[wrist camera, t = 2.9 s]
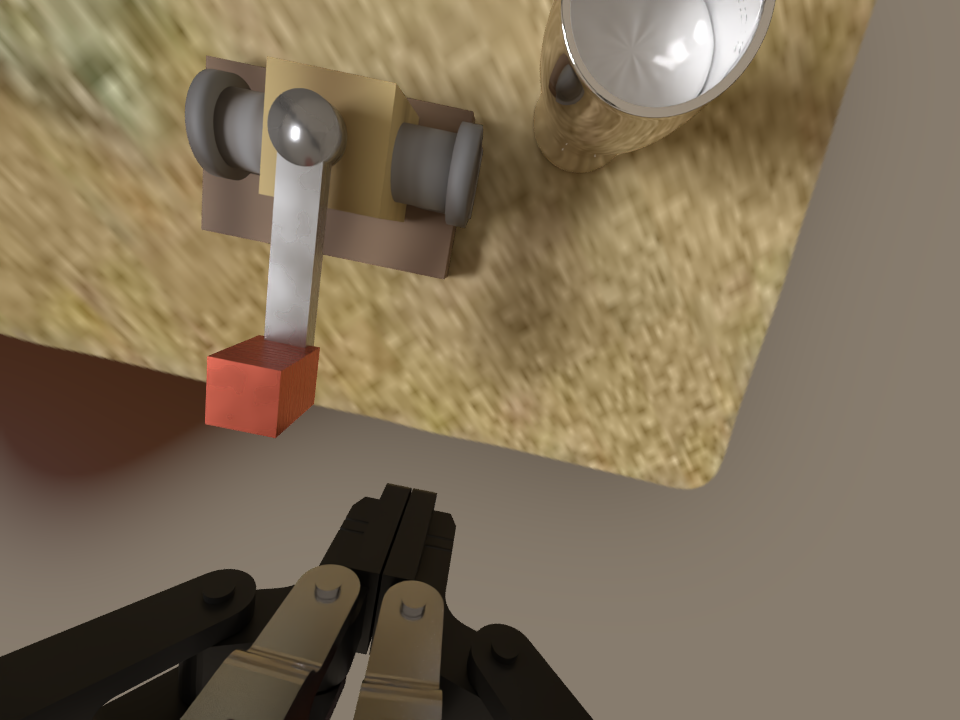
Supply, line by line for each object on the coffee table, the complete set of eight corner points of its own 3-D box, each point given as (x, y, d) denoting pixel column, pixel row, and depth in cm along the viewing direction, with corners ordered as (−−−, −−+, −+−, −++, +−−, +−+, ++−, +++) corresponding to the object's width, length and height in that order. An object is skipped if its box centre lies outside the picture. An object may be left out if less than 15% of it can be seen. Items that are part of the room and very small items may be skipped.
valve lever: (283, 90, 20) (218, 46, 15) (351, 104, 20) (305, 64, 15) (261, 396, 23) (204, 434, 19) (318, 407, 23) (274, 448, 19)
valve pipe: (220, 229, 31) (102, 226, 22) (226, 67, 28) (94, -14, 19) (461, 279, 31) (445, 297, 22) (490, 123, 28) (485, 69, 19)
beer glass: (518, 72, 28) (537, -110, 13) (632, 46, 27) (785, -174, 12) (535, 190, 29) (569, 144, 15) (642, 168, 29) (787, 99, 14)
